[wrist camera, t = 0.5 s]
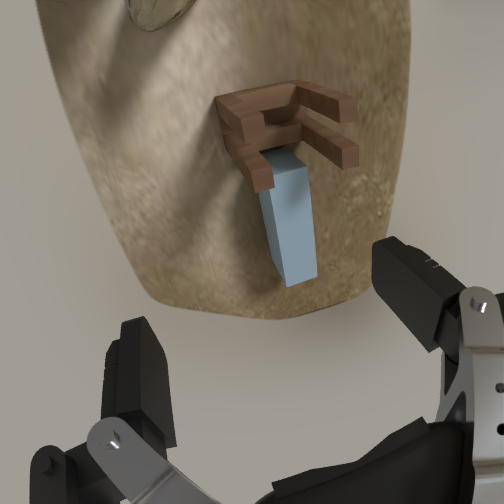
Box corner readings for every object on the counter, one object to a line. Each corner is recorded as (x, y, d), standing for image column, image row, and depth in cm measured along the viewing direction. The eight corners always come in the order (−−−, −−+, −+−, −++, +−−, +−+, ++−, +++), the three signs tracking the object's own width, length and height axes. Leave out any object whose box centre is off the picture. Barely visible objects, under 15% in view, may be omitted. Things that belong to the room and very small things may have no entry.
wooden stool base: (214, 97, 21) (240, 119, 15) (300, 79, 22) (356, 98, 16) (226, 149, 24) (255, 193, 18) (306, 130, 25) (359, 166, 19)
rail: (249, 156, 25) (267, 177, 22) (284, 146, 25) (306, 166, 22) (271, 257, 32) (286, 287, 29) (298, 248, 32) (317, 276, 29)
